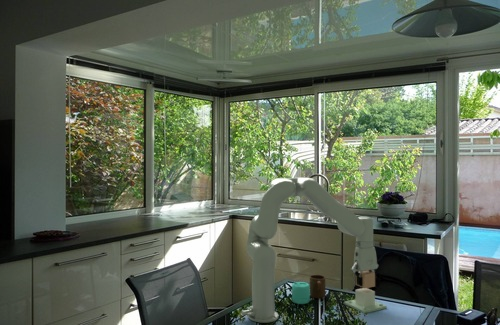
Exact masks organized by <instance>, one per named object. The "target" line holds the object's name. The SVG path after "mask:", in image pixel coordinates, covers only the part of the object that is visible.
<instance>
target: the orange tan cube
mask: <svg viewBox="0 0 500 325" xmlns="http://www.w3.org/2000/svg"><path fill="white" fill-rule="evenodd" d="M359 272H360V271H359ZM361 277H362V286H360V285H357V276H355V286H358V287H360V288H361V289H362V288H367V289H370V288H374V287H376V272H375V273H373V272H370V271H363V272H362V276H361Z"/></svg>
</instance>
